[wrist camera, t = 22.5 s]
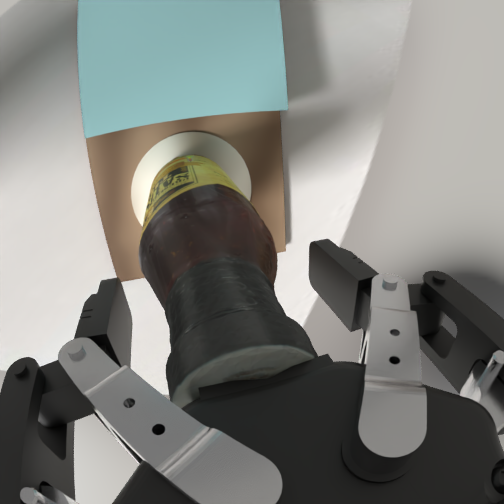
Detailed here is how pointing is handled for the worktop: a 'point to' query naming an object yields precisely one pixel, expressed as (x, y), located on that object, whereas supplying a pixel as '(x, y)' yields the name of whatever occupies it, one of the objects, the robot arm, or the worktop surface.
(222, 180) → the sauce bottle
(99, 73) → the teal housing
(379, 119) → the worktop surface
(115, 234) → the walnut board
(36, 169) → the worktop surface
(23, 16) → the worktop surface
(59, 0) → the worktop surface
